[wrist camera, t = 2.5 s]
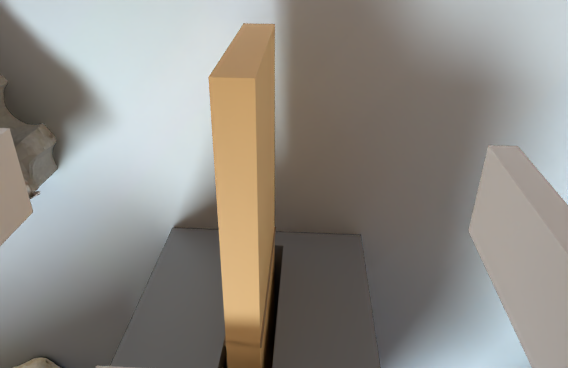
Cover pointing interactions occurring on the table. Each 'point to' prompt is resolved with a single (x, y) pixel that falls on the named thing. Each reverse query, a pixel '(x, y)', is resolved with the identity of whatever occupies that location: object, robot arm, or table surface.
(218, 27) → the table surface
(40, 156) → the egg carton
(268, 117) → the ticket
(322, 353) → the box
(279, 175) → the table surface
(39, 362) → the storage basket
